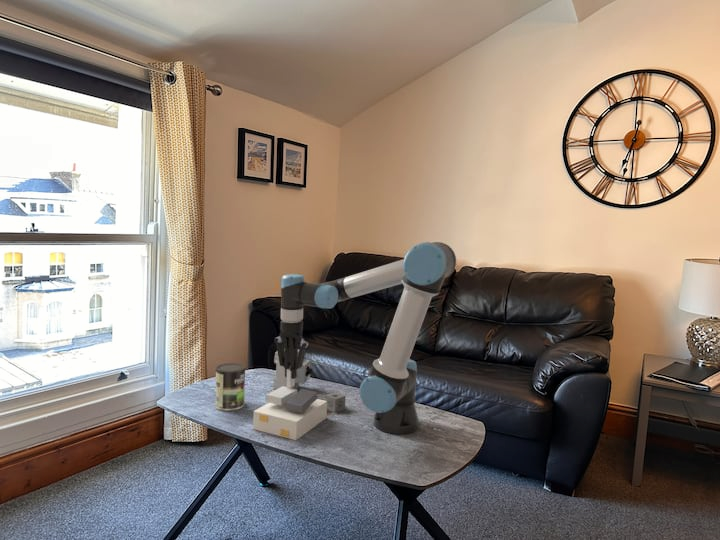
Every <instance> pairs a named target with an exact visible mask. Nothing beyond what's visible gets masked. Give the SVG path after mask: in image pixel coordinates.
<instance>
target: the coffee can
mask: <svg viewBox="0 0 720 540" xmlns="http://www.w3.org/2000/svg"><path fill="white" fill-rule="evenodd" d="M245 379H246V365H244V364H241V363H235V362H234V363H233V362H232V363H231V362H230V363H223V364H220V365H219V364H218V365H217V366H216V367H215V398H214V400H215V405H214V407H215V408H216V409H217V410H219V411H225V412H230V411H236V410H237V411H238V410H240V409H242V408H243V407H245V390H246V389H245V388H246V387H245V385H246V384H245V383H246V380H245Z"/></svg>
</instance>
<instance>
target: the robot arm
mask: <svg viewBox="0 0 720 540" xmlns="http://www.w3.org/2000/svg"><path fill="white" fill-rule="evenodd" d="M403 258H404V259H400V260H396V261H394V262H391V263H390V262H389V263H388V264H383V265H380V266H378V267H375V268H371V269H368V270H365V271H362V272H358V273H355V274H352V275H351V274H350V275H349V276H345V277H342V278H338V279H335V280H331V281H326V282H322V283H314V282H307V281H305V276H304V275H302V274H296V273H289V274H285V275H283V276H282V277H281V284H280V285H281V286H280V293H281V294H280V297H281V299H280V300H281V301H280V302H281V303H280V320H281V321H280V327H279V328H280V333H279V336H277V337H274V339H273V341H274V343H275V345H276V352H278V357H279V363H280V366H283V367H284V368H285V377H287V385H286V388H292V387H293V386H294V379H295V378H296V376H297V369H299V368H301V367H302V364H303V360H304V359H305V356H306V351H307V348H308V347H309V345H310V342H309V341H306V340H305V339H304V335H303V331H304V321H303V319H304V306H309V307H315V308H320V309H333V308H334V307H335V306H336V304H338V303H339V302H344V301H346V300H349V299H353V298H356V297H360V296H364V295H367V294H371V293H374V292H377V291H380V290H385V289H387V288H393V287H395V286H398V285H402V286H403V291H402V294H401V297H400V299H399V302H398V305H397V307H396V310H395V314H394V316H393V320H392V322H391V325H390V327H389V331H388V333H387V336H386V339H385V342H384V345H383V347H382V351H381V354H380V356H379V358H377V359H374V360H373V362H372V365H371V366H370V370H369V373H368V375H367V377H365V378H364V379H363V380H362V382H361V384H360V386H359V397H360V399H361V401H362V404H363V405H364V406H365V407H366V408H367V409H369V411H372V412H374V416H373V426H374V427H375V428H376V429H377V430H380V431H382V432H384V433H387V434H392V435H393V434H394V435H405V434H411V433H414V432H416V431H417V430H418V429H419V416H418V412H417V409H416V406H415V403H416V401H415V400H416V386H417V374H418V370H417V368H418V367H417V362H416V361H415V360H412V359H411V358H410V357H411V355H412V353H413V350H414V347H415V344H416V341H417V339H418V336H419V333H420V331H421V328H422V325H423V322H424V320H425V318H426V315H427V311H428V309H429V306H430V303H431V301H432V298H433V297H436V296H438V295H439V294H440V292H441V288H442V287H443V286H442V285H443V283H444V282H445V279H446V278H448V277H450V275H451V274H453V272H454V270H455V268H456V266H457V256H456V254H455V252H454V250H453V248H452V247H450V245H448V244H446V243H444V242H441V241H440V242H438V241H435V242H429V241H428V242H427V241H426V242H421V243H419V244H416V245H415V246H413V247H412V248H410V249H409V250H408V251H407V253H406V254H405V256H404V257H403ZM299 346H300V347H299ZM284 350H285V351H284ZM298 350H299V354H298ZM290 366H291V367H290Z"/></svg>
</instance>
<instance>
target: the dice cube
mask: <svg viewBox="0 0 720 540" xmlns="http://www.w3.org/2000/svg"><path fill="white" fill-rule="evenodd" d="M346 397H347V396H346V395H344V394H342V393H340V392H337V391H336V392H332V393H329V394H326V395H325V401H327V411H330V412H333V413H339V412H341V411H343V410H346Z"/></svg>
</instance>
